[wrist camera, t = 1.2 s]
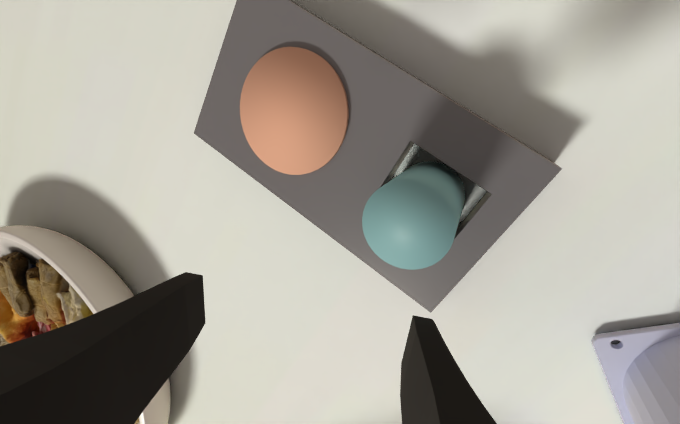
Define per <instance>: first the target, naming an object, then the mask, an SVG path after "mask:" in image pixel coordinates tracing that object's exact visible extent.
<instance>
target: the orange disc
mask: <svg viewBox="0 0 680 424" xmlns="http://www.w3.org/2000/svg"><path fill="white" fill-rule="evenodd" d="M240 118H241V124H242V128H243V131H244V134H245V137H246V139H247V141H248V143H249V145H250V147H251V148H252V150H253V151H254V153H255V154H256V155H257V156H258V157H259V159H260V160H262V161H263V162H264V163H265V164H266V165H268V166H269V167H270V168H272V169H274V170H276V171H279V172H281V173H285V174H289V175H302V174H307V173H310V172H313V171H316V170H318V169H320V168H321V167H323V166H325V165H326V164H327V163H328V162H329V161H330V160H331V159H332V158H333V157H334V156H335V155H336V153H337V152H338V151H339V149H340V147H341V145H342V143H343V141H344V138H345V135H346V131H347V127H348V120H349V108H348V100H347V96H346V92H345V89H344V86H343V83H342V81H341V79H340V78H339V76H338V74H337V73H336V71H335V70H334V68H333V67H332V66H331V65H330V64H329V63H328V62H327V61H326V60H325V59H323V58H322V57H321V56H319V55H318V54H316V53H314V52H312V51H309V50H307V49H303V48H299V47H282V48H279V49H275V50H273V51H271V52H269V53H267V54H266V55H264V56H263V57H262V58H260V59H259V60H258V61H257V62H256V64H255V65H254V66H253V67H252V69H251V70H250V72H249V73H248V75H247V77H246V79H245V82H244V85H243V88H242V92H241V98H240Z"/></svg>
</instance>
